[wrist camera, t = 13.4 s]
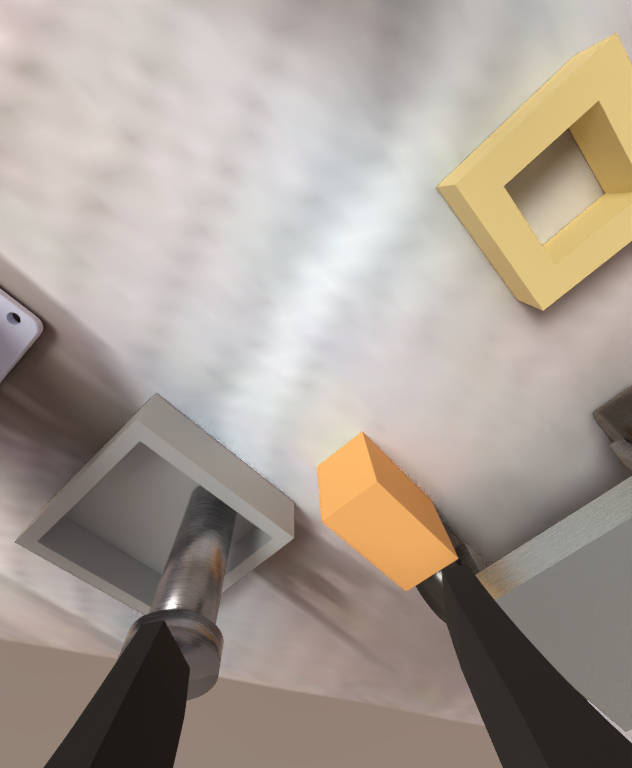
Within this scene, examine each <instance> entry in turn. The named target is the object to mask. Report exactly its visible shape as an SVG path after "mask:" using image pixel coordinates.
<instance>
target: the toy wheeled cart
mask: <svg viewBox="0 0 632 768" xmlns="http://www.w3.org/2000/svg"><path fill="white" fill-rule="evenodd" d="M593 415H594V418H595V419H596V421H597V423H598V424H599V426H600V427H601V428H602V429H603V431H604V432H605V433H606V434H607V435H608V436H609V438H610V439H611V440H612V441H613V443H612V444H610V445H609V446H610V447H611V448H612V450H613V451H614V452H615V454H616V455H617V456H618V458H619V459H620V461H621V462H622V463H623V465H624V466H625V467H627V468H628V469H629V470H631V471H632V386H631V387H629V388H628V389H626V390H625V391H623V392H622V393H620V394H619V395H618V396H616V397H615V398H613V399H612V400H610V401H609V402H608V403H606V404H605V405H603V406H602V407H600V408H599V409H597V410H596V411H595V412H594V413H593ZM442 524H443V523H442ZM443 526H444V528H445V530H446V532H447V535H448V537H449V539H450V541H451V543H452V545H453V547H454V550H455V552H456V554H457V556H458V558H459V559H457V560H456V561H454V562H452V563H451V564H449V565H448V566H446V567H444V568H443V569H445V568H451V567H456V566H462V565H467V566H468V567H470V568H471V570H472V571H473V573H474V574H475V575H476V577H477V578H478V579H479V581H480V582H481V583H482V585H483V586H484V587H485V588H486V590H487V591H488V592H489V594H490V595H491V596H492V597H493V599H494V600H495V601H496V602H497V603H498V605H499V606H500V607H501V608H502V609H503V611H504V612H505V613H506V614H507V615H508V617H509V618H510V619H511V620H512V621H513V622H514V624H515V625H516V626H517V627H518V628H519V629H520V631H521V632H522V633H523V634H524V635H525V636H526V637H527V638H528V639H529V640H530V642H531V643H532V644H533V645H534V646H535V647H536V648H537V649H538V650H539V652H540V653H541V654H542V655H543V656H544V657H545V658H546V659H547V660H548V661H549V662H550V663H551V664H552V666H553V667H554V668H555V669H556V670H557V671H558V672H559V673H560V674H561V675H562V676H563V677H564V678H565V679H566V680H567V681H568V682H569V683H570V684H571V685H572V686H573V687H574V688H575V689H576V690H577V691H578V692H579V693H580V694H581V695H582V696H583V697H584V698H585V699H586V700H589V701H590V702H591V703H592V704H594V705H595V706H596V707H597V708H598V709H599V710H601V711H602V712H603V713H604V714H605V715H606V716H608V717H609V718H610V719H611V720H612V721H614V722H615V723H616V724H617V725H618V726H619V727H621V728H622V729H623V730H624V731H625V732H626V731H629V730H631V729H632V476H631V477H629V478H628V479H626V480H624V481H623V482H621V483H620V484H618V485H617V486H615V487H613V488H612V489H610V490H609V491H607V492H606V493H604V494H602V495H601V496H599V497H598V498H596V499H594V500H593V501H591V502H590V503H588V504H587V505H585V506H583V507H582V508H580V509H579V510H577V511H575V512H574V513H572V514H571V515H569V516H568V517H566V518H564V519H563V520H561V521H560V522H558V523H557V524H555V525H553V526H552V527H550V528H549V529H547V530H545V531H544V532H542V533H541V534H539V535H538V536H536V537H534V538H533V539H531V540H530V541H528V542H527V543H525V544H523V545H522V546H520V547H519V548H517V549H515V550H514V551H512V552H511V553H509V554H508V555H506V556H504V557H503V558H501V559H500V560H498V561H497V562H495V563H493V564H492V565H490V566H489V567H486V566H485V564H484V562H483V560H482V558H481V557H480V556H479V555H478V554H477V553H476V552H475V551H474V550H473V549H472V548H471V547H470V546H468V545H467V544H466V543H465V542H461V541H460V540H459V538H458V537H457V536H456V535H455V534H454V533H453V532H452V531H451V530H450V529H449V528H448V527H447V526H446V525H445V524H443ZM416 587H417V589H418V591H419V592H420V594H421V595H422V597H423V598H424V600H425V601H426V603H427V604H428V605H429V606H430V608H431V609H432V610H433V611H434V612H435V613H436V615H437V616H438V617H439V618H440V619H442V620H443V621H444V622H445V623H446V613H445V603H444V593H443V582H442V572H441V570H440V571H438V572H436V573H435V574H433V575H432V576H430V577H429V578H427V579H425V580H424V581H422V582H421V583H419V584H417V585H416Z"/></svg>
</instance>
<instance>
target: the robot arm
mask: <svg viewBox="0 0 632 768" xmlns="http://www.w3.org/2000/svg"><path fill="white" fill-rule="evenodd" d="M13 312H14V313H16V314H17V315H18V316H19V317H20V320H21V322H18V321H16V320H15V319H14V317H13ZM42 331H43V325H42V322H41V321H40V320H39V318H38V317H36V316H35V315H34V314H33V313H31V312H30V311H29V310H27V309H26V308H25V307H24V306H22V305H21V304H20V303H18V302H17V301H16V300H15V299H13V298H12V297H11V296H9V295H8V294H7V293H5V292H4V291H3V290H2V289H0V383H1V382H2V380H3V379H4V378H5V377H6V375H7V374H8V373H9V372H10V371H11V369H12V368H13V367H14V366H15V365H16V363H17V362H18V361H19V360H20V359H21V357H22V356H23V355H24V354H25V353H26V351H27V350H28V349H29V348H30V347H31V345H32V344H33V343H34V342H35V341H36V339H37V338H38V337H39V336H40V335H41V333H42ZM441 572H442V582H443V593H444V603H445V613H446V623H447V626H448V629H449V632H450V635H451V638H452V642H453V645H454V648H455V651H456V654H457V657H458V660H459V663H460V666H461V669H462V671H463V674H464V676H465V679H466V681H467V683H468V686H469V688H470V691H471V693H472V695H473V698H474V700H475V703H476V705H477V707H478V710H479V712H480V714H481V717H482V719H483V721H484V724H485V726H486V729H487V731H488V733H489V736H490V738H491V740H492V743H493V745H494V748H495V750H496V752H497V755H498V757H499V759H500V762H501V764H502V766H503V768H632V743H631V742H630V741H629V740H628V739H626V738H625V737H624V736H623V735H622V734H621V733H620V732H619V731H618V730H617V729H616V728H615V727H614V726H613V725H611V724H610V723H609V722H608V721H607V720H606V719H605V718H604V717H603V716H602V715H601V714H600V713H599V712H598V711H597V710H596V709H595V708H594V707H593V706H592V705H591V704H590V703H589V702H588V701H587V700H586V699H585V698H584V697H583V696H582V695H581V694H580V693H579V692H578V691H577V690H576V689H575V688H574V687H573V686H572V685H571V684H570V683H569V682H568V681H567V680H566V679H565V678H564V677H563V676H562V675H561V674H560V673H559V672H558V671H557V670H556V669H555V668H554V667H553V666H552V664H551V663H550V662H549V661H548V660H547V659H546V658H545V657H544V656H543V655H542V654H541V653H540V652H539V650H538V649H537V648H536V647H535V646H534V645H533V644H532V643H531V642H530V640H529V639H528V638H527V637H526V636H525V635H524V634H523V633H522V632H521V631H520V629H519V628H518V627H517V626H516V625H515V624H514V622H513V621H512V620H511V619H510V618H509V617H508V615H507V614H506V613H505V612H504V611H503V609H502V608H501V607H500V606H499V605H498V603H497V602H496V601H495V600H494V599H493V597H492V596H491V595H490V594H489V592H488V591H487V590H486V588H485V587H484V586H483V585H482V583H481V582H480V581H479V579H478V578H477V577H476V575H475V574H474V573H473V571H472V570H471V568H470V567H468V566H467V565H462V566H456V567H451V568H445V569H441ZM189 675H190V667H189V665H188V663H187V661H186V659H185V658H184V656H183V654H182V652H181V650H180V648H179V646H178V645H177V643H176V641H175V639H174V637H173V635H172V633H171V632H170V630H169V628H168V626H167V624H166V622H165V620H163V621H157V622H152V623H146V624H142V625H141V626H140V628H139V629H138V630H137V632H136V633H135V635H134V636H133V638H132V639H131V641H130V642H129V644H128V645H127V647H126V648H125V650H124V651H123V653H122V654H121V656H120V657H119V659H118V660H117V662H116V664H115V665H114V667H113V668H112V670H111V671H110V673H109V674H108V676H107V677H106V679H105V680H104V682H103V683H102V685H101V686H100V688H99V689H98V691H97V692H96V694H95V695H94V697H93V698H92V699H91V701H90V702H89V704H88V705H87V707H86V708H85V710H84V711H83V713H82V714H81V716H80V717H79V719H78V720H77V721H76V723H75V725H74V726H73V727H72V729H71V730H70V732H69V733H68V734H67V736H66V737H65V739H64V740H63V742H62V743H61V744H60V746H59V747H58V748H57V750H56V751H55V753H54V754H53V755H52V757H51V758H50V760H49V761H48V762H47V764H46V765H45V766H44V768H173V765H174V761H175V756H176V752H177V748H178V743H179V738H180V734H181V729H182V724H183V720H184V715H185V708H186V700H187V693H188V684H189Z"/></svg>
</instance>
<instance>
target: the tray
mask: <svg viewBox="0 0 632 768" xmlns="http://www.w3.org/2000/svg"><path fill="white" fill-rule="evenodd" d="M200 485H201V486H202V487H204V488H205V489H206V490H208V491H209V492H210V493H212V494H213V495H215V496H216V497H217V498H219V499H220V500H221V501H223V502H224V503H225V504H227V505H228V506H230V507H231V508H232V509H234V510H235V511H236V512H237V514H236V519H235V524H234V529H233V535H232V540H231V545H230V550H229V556H228V561H227V566H226V571H225V577H224V582H223V587H222V592H221V594H222V593H223V592H224V591H226V590H227V589H228V588H230V587H231V586H232V585H233V584H235V583H236V582H237V581H239V580H240V579H241V578H243V577H244V576H245V575H247V574H248V573H249V572H251V571H252V570H253V569H254V568H256V567H257V566H258V565H260V564H261V563H262V562H264V561H265V560H266V559H268V558H269V557H270V556H271V555H273V554H274V553H275V552H277V551H278V550H279V549H281V548H282V547H283V546H285V545H286V544H287V543H288V542H290V541H291V540H292V539H294V502H293V501H292V500H291V499H289V498H288V497H287V496H286V495H284V494H283V493H282V492H280V491H279V490H278V489H277V488H275V487H274V486H273V485H272V484H270V483H269V482H268V481H267V480H265V479H264V478H263V477H262V476H260V475H259V474H258V473H256V472H255V471H254V470H253V469H251V468H250V467H249V466H248V465H246V464H245V463H244V462H243V461H241V460H240V459H239V458H237V457H236V456H235V455H234V454H232V453H231V452H230V451H229V450H227V449H226V448H225V447H224V446H222V445H221V444H220V443H219V442H217V441H216V440H215V439H213V438H212V437H211V436H210V435H208V434H207V433H206V432H205V431H203V430H202V429H201V428H200V427H198V426H197V425H196V424H194V423H193V422H192V421H191V420H189V419H188V418H187V417H186V416H184V415H183V414H182V413H181V412H179V411H178V410H177V409H176V408H174V407H173V406H172V405H170V404H169V403H168V402H167V401H165V400H164V399H163V398H162V397H160V396H159V395H158V394H157V393H156V394H155V395H154V396H153V397H152V398H151V399H150V400H149V401H148V402H147V403H146V404H145V405H144V406H143V407H142V408H141V409H140V410H139V411H138V412H137V413H136V414H135V415H134V416H133V417H132V418H131V419H130V420H129V421H128V422H127V423H126V424H125V425H124V426H123V427H122V428H121V429H120V430H119V431H118V432H117V433H116V434H115V435H114V436H113V437H112V438H111V439H110V440H109V441H108V442H107V443H106V444H105V445H104V446H103V447H102V448H101V449H100V450H99V451H98V452H97V453H96V454H95V455H94V456H93V457H92V458H91V459H90V460H89V461H88V462H87V463H86V464H85V465H84V466H83V467H82V468H81V469H80V470H79V471H78V473H77V474H76V475H75V476H74V477H73V478H72V479H71V480H70V481H69V482H68V483H67V484H66V485H65V486H64V487H63V488H62V489H61V490H60V491H59V492H58V493H57V494H56V495H55V496H54V497H53V498H52V499H51V500H50V501H49V502H48V503H47V504H46V505H45V506H44V507H43V508H42V510H41V511H40V512H39V513H38V514H37V516H36V517H35V518H34V519H33V520H32V522H31V523H30V524H29V525H28V526H27V528H26V529H25V530H24V531H23V532H22V534H21V535H20V536H19V537H18V538H17V539H16V541H15V543H17V544H19V545H21V546H22V547H24V548H26V549H28V550H30V551H31V552H33V553H35V554H37V555H38V556H40V557H42V558H44V559H46V560H47V561H49V562H51V563H53V564H54V565H56V566H58V567H60V568H62V569H63V570H65V571H67V572H69V573H71V574H72V575H74V576H76V577H78V578H79V579H81V580H83V581H85V582H87V583H88V584H90V585H92V586H94V587H95V588H97V589H99V590H101V591H103V592H104V593H106V594H108V595H110V596H112V597H113V598H115V599H117V600H119V601H120V602H122V603H124V604H126V605H128V606H129V607H131V608H133V609H135V610H136V611H138V612H140V613H142V614H144V615H146V614H148V613H149V610H150V607H151V605H152V602H153V599H154V596H155V594H156V591H157V588H158V585H159V582H160V580H161V577H162V574H163V571H164V569H165V566H166V563H167V560H168V558H169V555H170V552H171V549H172V546H173V544H174V541H175V538H176V535H177V533H178V530H179V527H180V524H181V522H182V519H183V516H184V513H185V510H186V508H187V505H188V502H189V499H190V497H191V494H192V492H193V491H194V489H195V488H197V487H198V486H200Z"/></svg>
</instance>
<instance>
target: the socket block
mask: <svg viewBox="0 0 632 768" xmlns="http://www.w3.org/2000/svg"><path fill="white" fill-rule="evenodd" d="M568 128H569V130H570V131H571V133H572V135H573V137H574V139H575V141H576V142H577V144H578V146H579V148H580V150H581V151H582V153H583V155H584V157H585V159H586V160H587V162H588V164H589V166H590V168H591V169H592V171H593V173H594V175H595V177H596V178H597V180H598V182H599V184H600V186H601V188H602V189H603V191H604V193H605V194H604V195H602V196H601V197H600V198H599V199H598V200H596V201H595V202H594V203H593V204H592V205H590V206H589V207H588V208H587V209H586V210H585V211H583V212H582V213H581V214H580V215H579V216H577V217H576V218H575V219H574V220H573V221H571V222H570V223H569V224H568V225H567V226H565V227H564V228H563V229H562V230H561V231H559V232H558V233H557V234H556V235H555V236H553V237H552V238H551V239H550V240H549V241H547V242H546V243H545V244H544V245H543V246H542V244H541V243H540V241H539V240H538V238H537V237H536V235H535V234H534V232H533V231H532V229H531V228H530V226H529V224H528V223H527V221H526V220H525V218H524V217H523V215H522V214H521V212H520V211H519V209H518V208H517V206H516V204H515V203H514V201H513V200H512V198H511V197H510V195H509V194H508V192H507V191H506V189H505V188H504V186H505V185H506V184H507V183H508V182H509V181H510V180H511V179H512V178H513V177H515V176H516V175H517V174H518V173H519V172H520V171H521V170H522V169H523V168H525V167H526V166H527V165H528V164H529V163H530V162H531V161H532V160H533V159H534V158H536V157H537V156H538V155H539V154H540V153H541V152H542V151H543V150H544V149H546V148H547V147H548V146H549V145H550V144H551V143H552V142H553V141H554V140H555V139H557V138H558V137H559V136H560V135H561V134H562V133H563V132H564V131H565V130H567V129H568ZM436 188H437V189H438V191H439V192H440V194H441V195H442V196H443V198H444V199H445V201H446V202H447V203H448V205H449V206H450V208H451V209H452V210H453V212H454V213H455V214H456V216H457V217H458V219H459V220H460V221H461V223H462V224H463V226H464V227H465V228H466V230H467V231H468V233H469V234H470V235H471V237H472V238H473V239H474V241H475V242H476V244H477V245H478V246H479V248H480V249H481V251H482V252H483V253H484V255H485V256H486V258H487V259H488V260H489V262H490V263H491V264H492V266H493V267H494V269H495V270H496V271H497V273H498V274H499V276H500V277H501V278H502V280H503V281H504V283H505V284H506V285H507V287H508V288H509V289H510V291H511V292H512V294H513V295H514V296H515V298H516V299H517V300H519V301H521V302H523V303H526V304H528V305H531V306H533V307H535V308H538V309H540V310H543V311H544V310H545V309H546V308H547V307H549V306H550V305H551V304H552V303H554V302H555V301H556V300H557V299H559V298H560V297H561V296H563V295H564V294H565V293H566V292H568V291H569V290H570V289H571V288H573V287H574V286H575V285H576V284H578V283H579V282H580V281H581V280H583V279H584V278H585V277H587V276H588V275H589V274H590V273H592V272H593V271H594V270H595V269H597V268H598V267H599V266H600V265H602V264H603V263H604V262H606V261H607V260H608V259H609V258H611V257H612V256H613V255H614V254H616V253H617V252H618V251H619V250H621V249H622V248H623V247H625V246H626V245H627V244H628V243H630V242H631V241H632V64H631V62H630V60H629V58H628V56H627V53H626V51H625V49H624V47H623V45H622V43H621V40H620V38H619V36H618V34H617V33H615V34H613V35H611V36H610V37H608V38H606V39H604V40H602V41H600V42H599V43H597V44H595V45H593V46H591V47H589V48H587V49H586V50H584V51H582V52H580V53H578V54H576V55H575V56H573V57H572V58H571V59H570V60H569V61H568V62H567V63H566V64H565V65H564V66H563V67H562V68H561V69H560V70H559V71H558V72H557V73H555V74H554V75H553V76H552V77H551V78H550V79H549V80H548V81H547V82H546V83H545V84H544V85H543V86H542V87H541V88H540V89H539V90H538V91H537V92H535V93H534V94H533V95H532V96H531V97H530V98H529V99H528V100H527V101H526V102H525V103H524V104H523V105H522V106H521V107H520V108H519V109H518V110H517V111H516V112H514V113H513V114H512V115H511V116H510V117H509V118H508V119H507V120H506V121H505V122H504V123H503V124H502V125H501V126H500V127H499V128H498V129H497V130H496V131H494V132H493V133H492V134H491V135H490V136H489V137H488V138H487V139H486V140H485V141H484V142H483V143H482V144H481V145H480V146H479V147H478V148H477V149H476V150H474V151H473V152H472V153H471V154H470V155H469V156H468V157H467V158H466V159H465V160H464V161H463V162H462V163H461V164H460V165H459V166H458V167H457V168H456V169H454V170H453V171H452V172H451V173H450V174H449V175H448V176H447V177H446V178H445V179H444V180H443V181H442V182H441V183H440V184H439V185H438V186H437V187H436Z"/></svg>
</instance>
